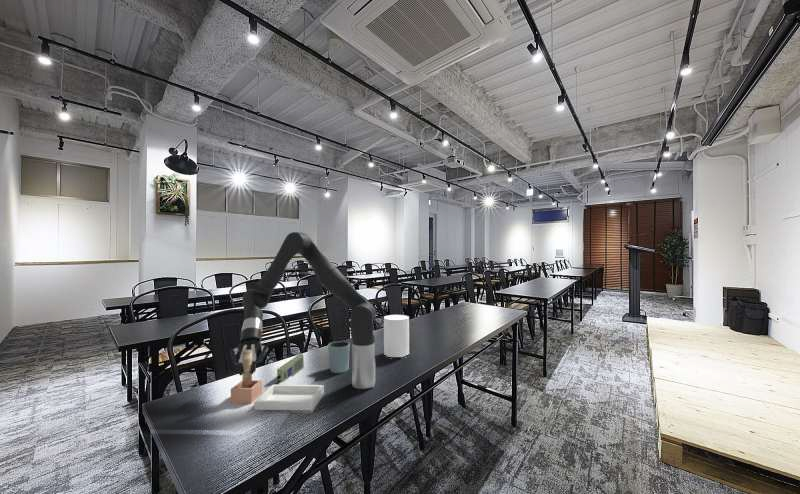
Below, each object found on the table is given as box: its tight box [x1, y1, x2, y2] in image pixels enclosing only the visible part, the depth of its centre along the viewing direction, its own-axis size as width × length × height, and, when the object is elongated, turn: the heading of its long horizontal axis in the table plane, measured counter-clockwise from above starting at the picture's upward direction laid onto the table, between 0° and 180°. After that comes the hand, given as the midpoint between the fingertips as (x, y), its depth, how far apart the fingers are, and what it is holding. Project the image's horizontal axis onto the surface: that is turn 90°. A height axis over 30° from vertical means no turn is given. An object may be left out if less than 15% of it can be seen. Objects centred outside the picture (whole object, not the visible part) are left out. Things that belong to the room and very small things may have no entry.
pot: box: [230, 379, 263, 404], centre depth 111 cm, size 8×8×6 cm
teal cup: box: [327, 340, 351, 374], centre depth 141 cm, size 10×10×12 cm
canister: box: [383, 314, 410, 357], centre depth 163 cm, size 14×14×20 cm
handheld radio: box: [274, 353, 305, 385], centre depth 132 cm, size 7×3×25 cm
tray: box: [253, 383, 325, 414], centre depth 110 cm, size 20×14×4 cm
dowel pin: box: [241, 350, 253, 388], centre depth 112 cm, size 3×3×14 cm
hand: (246, 373), depth 110 cm, fingers closed on dowel pin, 3 cm apart
